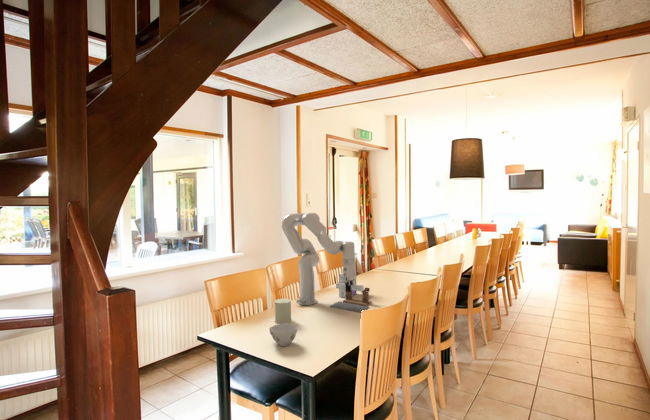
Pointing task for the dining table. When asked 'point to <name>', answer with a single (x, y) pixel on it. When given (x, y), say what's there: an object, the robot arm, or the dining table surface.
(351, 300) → the cradle rack
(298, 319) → the dining table surface
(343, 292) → the candy box
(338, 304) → the rubber mat
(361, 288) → the steel rail
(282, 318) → the can
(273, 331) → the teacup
